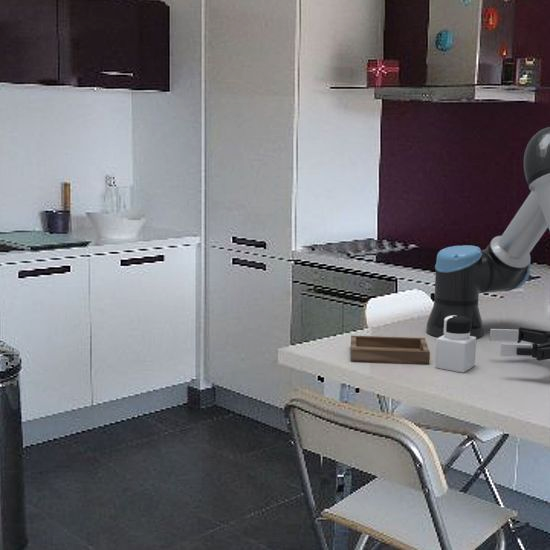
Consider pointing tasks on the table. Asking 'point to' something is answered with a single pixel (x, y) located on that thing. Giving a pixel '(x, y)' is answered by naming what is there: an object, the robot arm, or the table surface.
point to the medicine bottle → (456, 345)
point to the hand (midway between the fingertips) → (495, 341)
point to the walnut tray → (389, 350)
